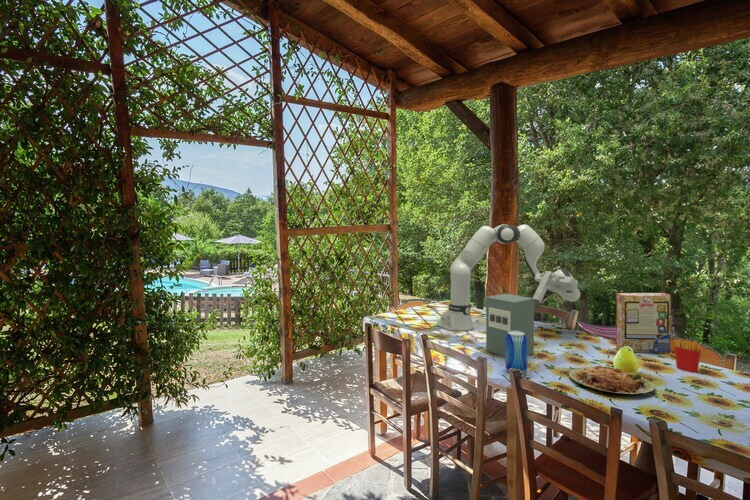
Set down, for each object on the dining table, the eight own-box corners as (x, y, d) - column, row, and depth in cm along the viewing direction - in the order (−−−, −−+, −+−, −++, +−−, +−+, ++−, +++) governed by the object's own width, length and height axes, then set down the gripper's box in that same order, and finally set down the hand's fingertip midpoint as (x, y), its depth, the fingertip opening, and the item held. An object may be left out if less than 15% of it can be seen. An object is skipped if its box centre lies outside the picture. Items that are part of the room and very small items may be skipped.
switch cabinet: (484, 351, 182) (483, 297, 181) (505, 344, 191) (504, 293, 189) (512, 360, 169) (512, 302, 167) (533, 353, 178) (533, 298, 176)
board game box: (663, 349, 179) (664, 292, 177) (670, 354, 173) (672, 295, 171) (615, 348, 182) (616, 292, 180) (621, 352, 176) (622, 294, 174)
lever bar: (529, 309, 192) (525, 304, 190) (546, 274, 199) (543, 269, 197) (538, 310, 188) (534, 306, 186) (555, 275, 195) (552, 270, 193)
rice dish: (568, 367, 163) (568, 355, 163) (646, 374, 151) (646, 361, 151) (569, 394, 138) (568, 379, 138) (663, 405, 126) (662, 389, 126)
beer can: (528, 375, 153) (529, 336, 152) (506, 374, 155) (506, 335, 153) (524, 367, 161) (525, 330, 160) (504, 366, 163) (504, 329, 162)
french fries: (701, 371, 152) (702, 342, 151) (697, 374, 150) (698, 344, 149) (675, 365, 159) (676, 337, 159) (671, 367, 157) (672, 338, 156)
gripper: (544, 277, 211) (531, 266, 204) (581, 281, 194) (568, 270, 187) (540, 287, 210) (527, 277, 203) (577, 292, 193) (564, 281, 186)
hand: (547, 274), depth 195 cm, fingers closed on lever bar, 3 cm apart
